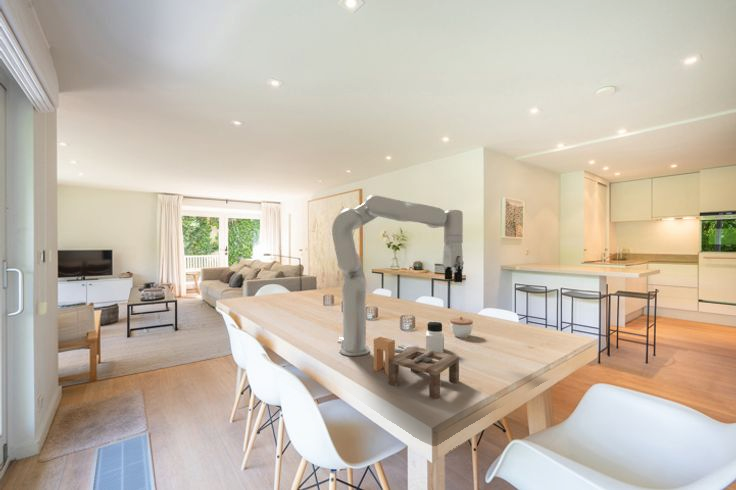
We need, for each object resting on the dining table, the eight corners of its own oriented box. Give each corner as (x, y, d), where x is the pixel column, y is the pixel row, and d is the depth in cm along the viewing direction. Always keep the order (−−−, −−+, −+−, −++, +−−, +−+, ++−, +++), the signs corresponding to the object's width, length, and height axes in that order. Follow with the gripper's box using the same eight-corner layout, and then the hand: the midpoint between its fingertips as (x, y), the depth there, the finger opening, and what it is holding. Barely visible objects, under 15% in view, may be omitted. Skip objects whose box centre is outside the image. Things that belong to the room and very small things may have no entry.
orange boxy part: (373, 370, 116) (373, 339, 116) (380, 366, 119) (380, 336, 119) (388, 374, 112) (388, 342, 112) (394, 370, 115) (394, 340, 115)
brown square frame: (388, 383, 104) (388, 355, 104) (414, 368, 117) (414, 343, 117) (436, 399, 94) (436, 367, 94) (458, 380, 106) (458, 353, 106)
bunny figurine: (429, 355, 120) (392, 345, 126) (428, 368, 120) (390, 357, 127) (436, 347, 128) (400, 338, 135) (434, 360, 129) (399, 350, 135)
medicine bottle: (443, 353, 133) (443, 324, 133) (426, 352, 134) (426, 323, 134) (443, 348, 140) (443, 320, 140) (426, 347, 141) (426, 319, 141)
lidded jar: (475, 339, 153) (475, 319, 153) (453, 339, 154) (453, 319, 154) (469, 333, 164) (468, 314, 164) (447, 332, 164) (447, 314, 164)
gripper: (437, 240, 143) (436, 278, 143) (453, 239, 126) (453, 283, 126) (453, 240, 144) (453, 278, 144) (471, 239, 127) (471, 283, 127)
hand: (453, 280), depth 135 cm, fingers open, 9 cm apart
